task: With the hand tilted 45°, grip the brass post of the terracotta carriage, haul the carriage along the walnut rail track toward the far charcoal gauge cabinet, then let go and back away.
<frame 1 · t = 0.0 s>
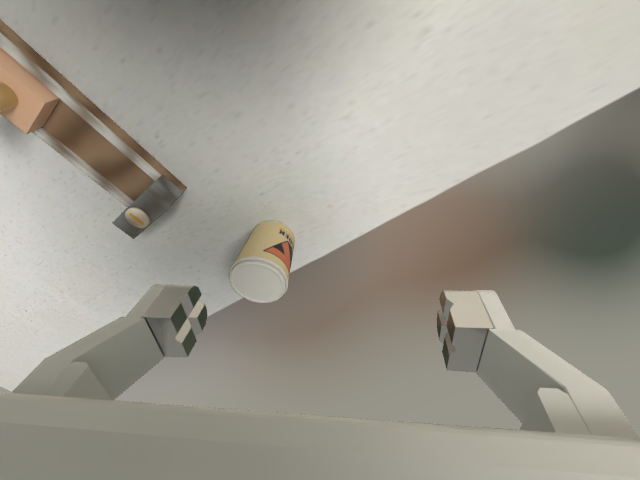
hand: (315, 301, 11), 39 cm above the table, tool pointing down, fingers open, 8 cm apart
coffee cup: (274, 236, 60), on the table
rail track: (79, 124, 50), on the table
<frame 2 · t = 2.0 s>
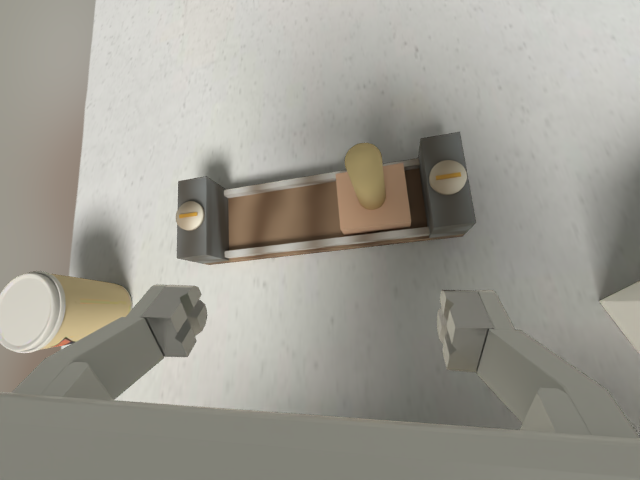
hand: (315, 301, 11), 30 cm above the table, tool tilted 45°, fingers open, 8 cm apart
carriage: (369, 186, 34), point 8 cm above the table, slide at -7.0 cm
coffee cup: (111, 309, 49), on the table
rail track: (322, 215, 44), on the table
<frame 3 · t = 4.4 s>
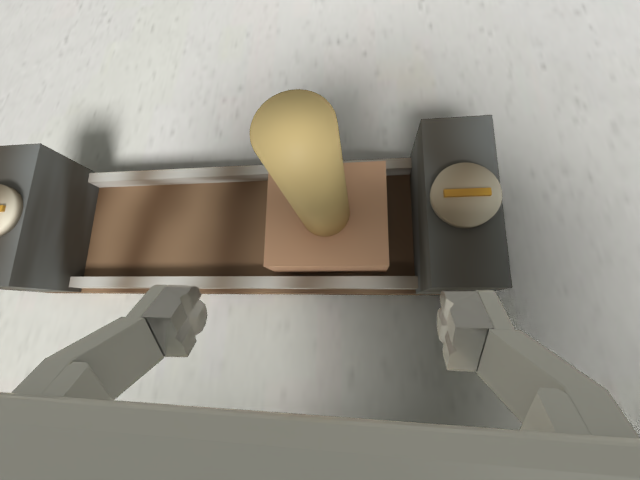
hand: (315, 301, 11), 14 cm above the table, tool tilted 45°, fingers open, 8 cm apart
carriage: (317, 193, 18), point 8 cm above the table, slide at -7.0 cm
rail track: (247, 232, 27), on the table
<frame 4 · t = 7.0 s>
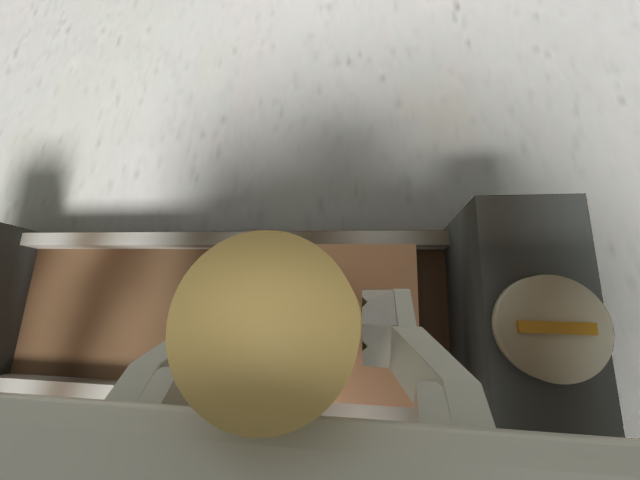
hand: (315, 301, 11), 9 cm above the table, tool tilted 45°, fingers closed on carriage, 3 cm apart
carriage: (317, 320, 11), point 8 cm above the table, slide at -7.0 cm, touching gripper
rail track: (227, 314, 20), on the table
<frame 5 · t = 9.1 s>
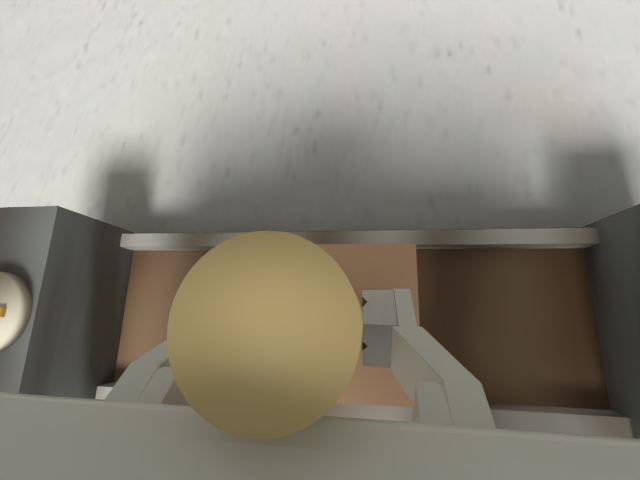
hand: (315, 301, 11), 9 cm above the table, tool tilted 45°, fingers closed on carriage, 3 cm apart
carriage: (318, 320, 11), point 8 cm above the table, slide at 0.1 cm, touching gripper
rail track: (339, 318, 19), on the table
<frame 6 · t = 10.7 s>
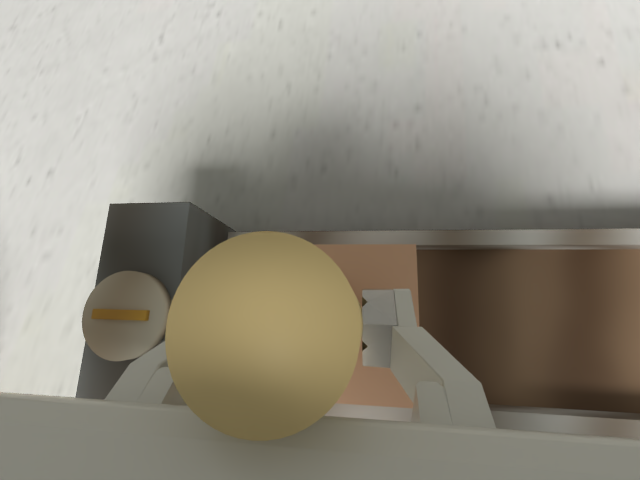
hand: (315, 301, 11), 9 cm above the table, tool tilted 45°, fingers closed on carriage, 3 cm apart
carriage: (317, 320, 11), point 8 cm above the table, slide at 6.8 cm, touching gripper
rail track: (457, 321, 18), on the table
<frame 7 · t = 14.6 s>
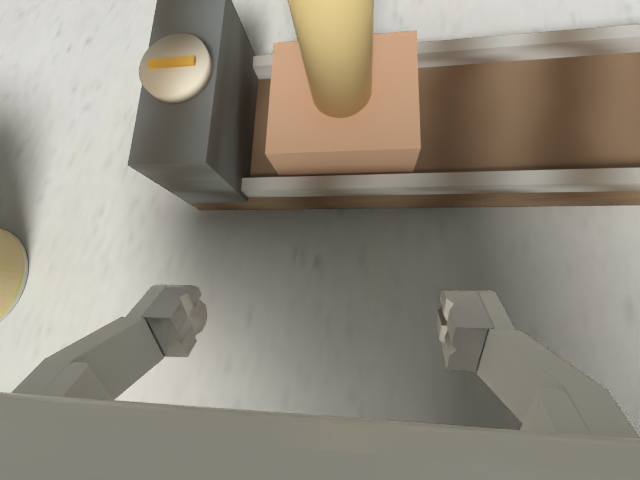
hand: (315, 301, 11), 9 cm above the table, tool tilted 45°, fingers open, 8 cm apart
carriage: (335, 37, 14), point 8 cm above the table, slide at 6.9 cm
rail track: (454, 133, 21), on the table
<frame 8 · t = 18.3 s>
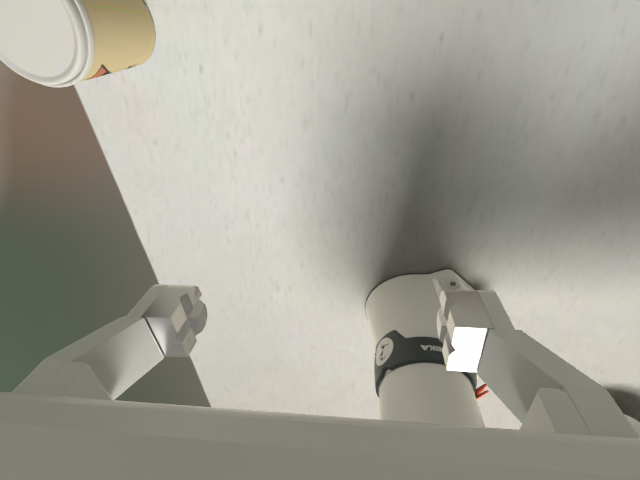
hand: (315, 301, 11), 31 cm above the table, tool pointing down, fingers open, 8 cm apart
coffee cup: (122, 25, 35), on the table
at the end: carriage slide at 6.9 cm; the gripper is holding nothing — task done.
